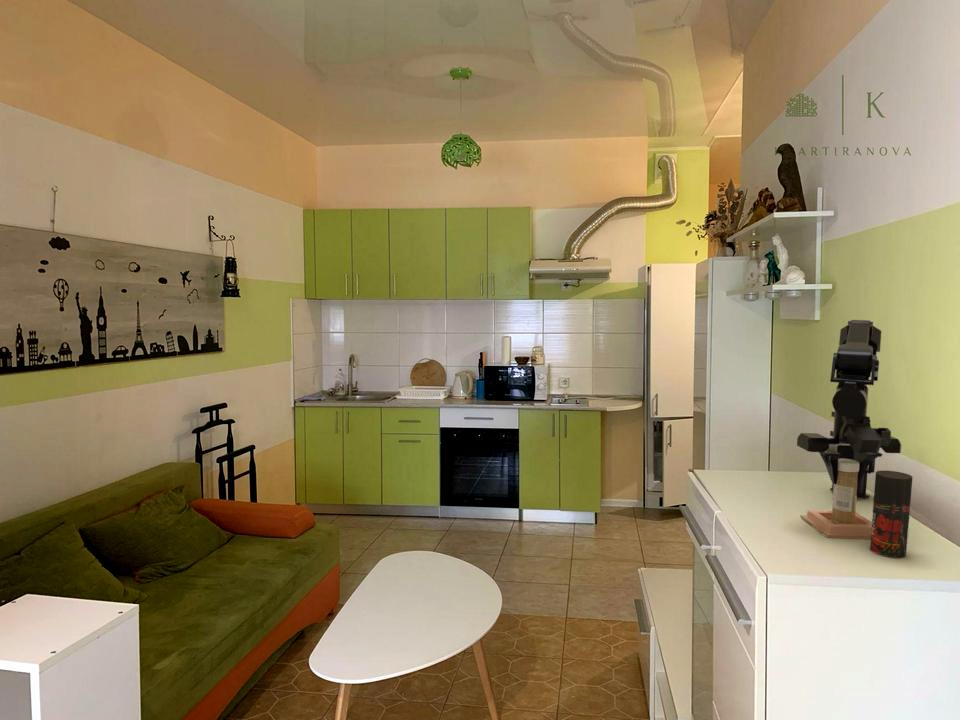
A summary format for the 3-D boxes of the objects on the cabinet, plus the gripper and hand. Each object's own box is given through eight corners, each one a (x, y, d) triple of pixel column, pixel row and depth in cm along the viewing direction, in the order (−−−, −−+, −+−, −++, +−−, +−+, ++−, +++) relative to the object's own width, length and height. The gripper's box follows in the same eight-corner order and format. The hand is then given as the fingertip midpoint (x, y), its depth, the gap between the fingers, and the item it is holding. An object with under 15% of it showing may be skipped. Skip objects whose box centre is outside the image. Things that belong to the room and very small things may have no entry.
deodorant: (862, 546, 133) (868, 470, 131) (892, 545, 134) (898, 470, 132) (883, 558, 127) (889, 479, 126) (913, 557, 128) (920, 479, 126)
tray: (855, 518, 149) (856, 509, 149) (887, 538, 137) (888, 529, 137) (800, 517, 149) (800, 508, 149) (827, 537, 137) (828, 528, 137)
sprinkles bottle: (859, 524, 143) (864, 461, 141) (847, 528, 140) (852, 464, 139) (837, 518, 147) (842, 456, 145) (825, 522, 144) (830, 459, 143)
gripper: (824, 416, 133) (818, 495, 135) (921, 417, 133) (914, 496, 134) (798, 406, 144) (793, 478, 146) (887, 407, 144) (882, 480, 145)
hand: (845, 483), depth 142 cm, fingers closed on sprinkles bottle, 4 cm apart
